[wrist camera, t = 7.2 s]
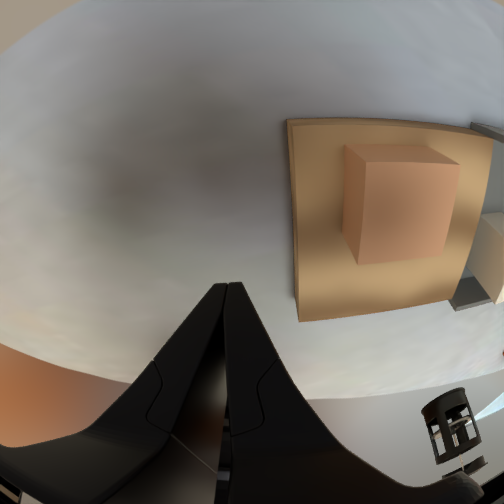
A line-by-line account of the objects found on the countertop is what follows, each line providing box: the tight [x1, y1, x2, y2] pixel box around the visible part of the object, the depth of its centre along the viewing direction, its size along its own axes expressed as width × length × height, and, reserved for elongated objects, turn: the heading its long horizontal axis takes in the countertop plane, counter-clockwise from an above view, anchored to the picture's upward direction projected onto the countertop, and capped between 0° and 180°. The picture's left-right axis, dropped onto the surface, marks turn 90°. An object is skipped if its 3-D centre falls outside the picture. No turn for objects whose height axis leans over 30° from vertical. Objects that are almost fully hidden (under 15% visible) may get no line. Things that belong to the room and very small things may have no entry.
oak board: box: [286, 118, 494, 322], centre depth 16 cm, size 13×13×2 cm
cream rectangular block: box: [466, 212, 504, 304], centre depth 16 cm, size 5×5×3 cm
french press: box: [421, 387, 488, 479], centre depth 28 cm, size 12×9×23 cm
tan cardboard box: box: [342, 144, 461, 265], centre depth 12 cm, size 5×5×3 cm
